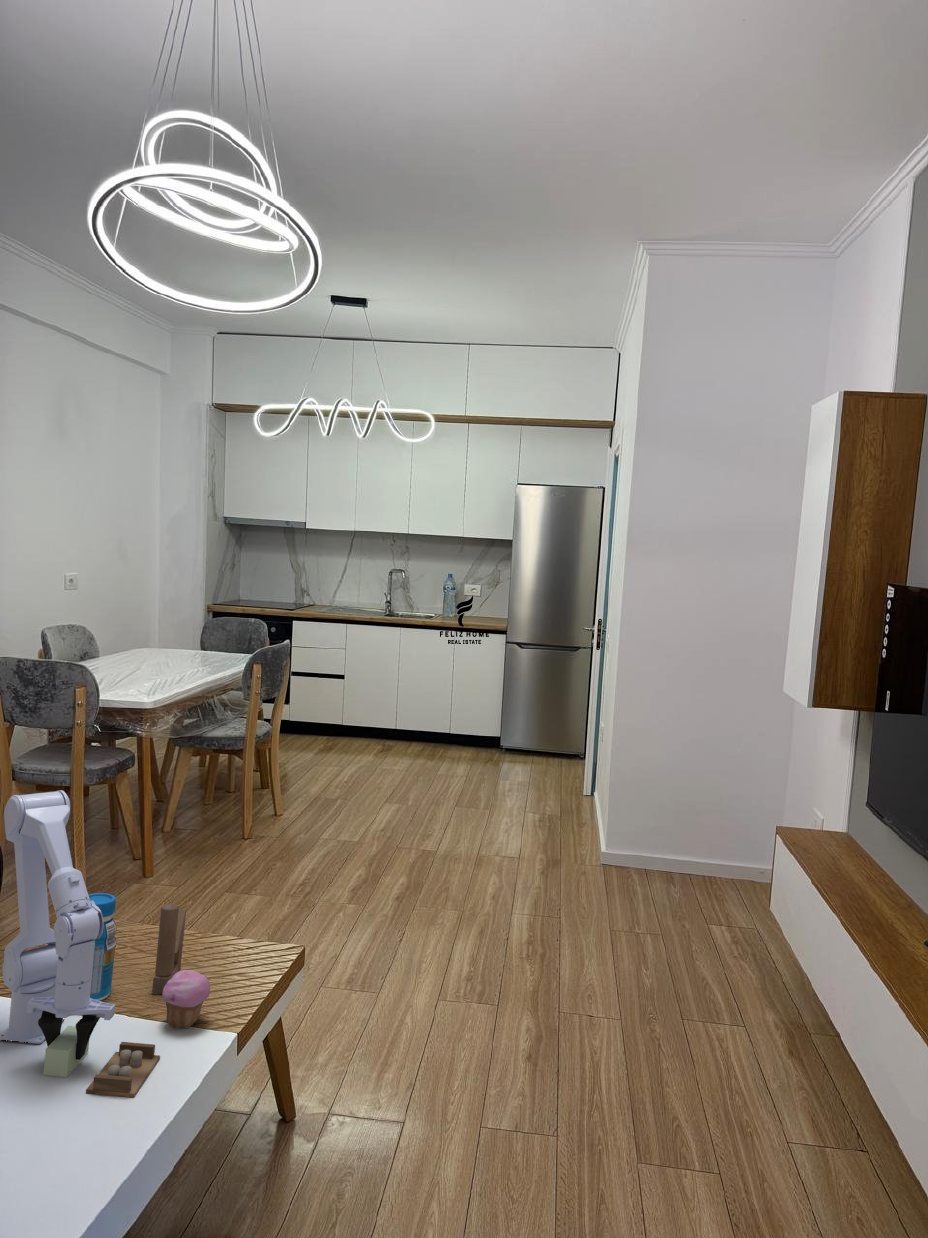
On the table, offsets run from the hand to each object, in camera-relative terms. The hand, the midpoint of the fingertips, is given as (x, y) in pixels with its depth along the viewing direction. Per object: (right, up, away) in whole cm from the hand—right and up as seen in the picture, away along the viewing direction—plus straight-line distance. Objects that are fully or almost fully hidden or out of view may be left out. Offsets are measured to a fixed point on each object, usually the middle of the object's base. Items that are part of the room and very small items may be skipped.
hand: (66, 1055), depth 146 cm
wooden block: (+6, -2, +33) cm, 34 cm away
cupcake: (+15, -3, +17) cm, 23 cm away
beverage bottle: (-7, -1, +25) cm, 26 cm away
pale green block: (0, -1, 0) cm, 1 cm away
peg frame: (+11, -2, -2) cm, 11 cm away
